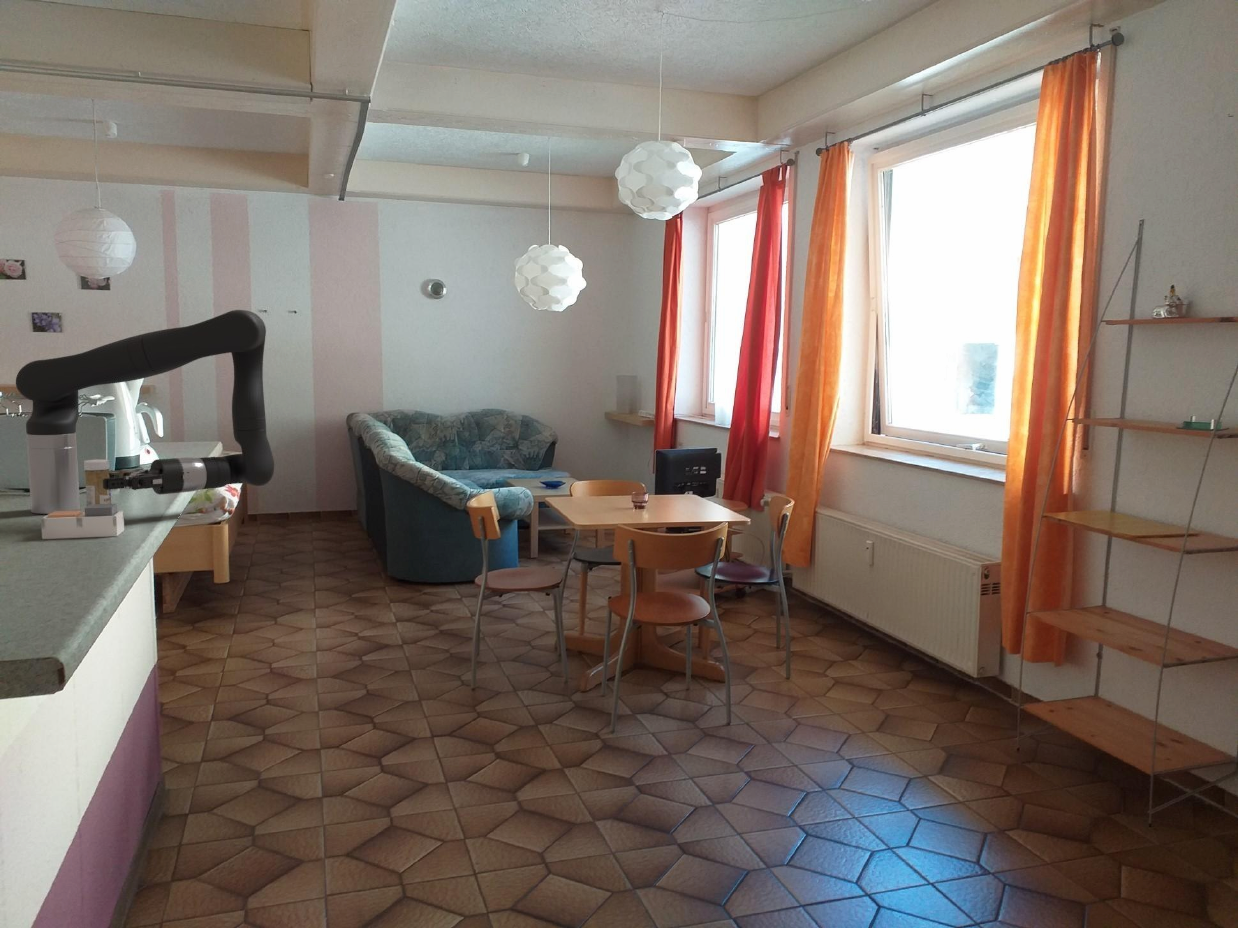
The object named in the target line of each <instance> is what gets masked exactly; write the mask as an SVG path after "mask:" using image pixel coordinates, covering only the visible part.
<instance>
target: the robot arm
mask: <svg viewBox="0 0 1238 928" xmlns="http://www.w3.org/2000/svg"><path fill="white" fill-rule="evenodd" d="M266 334H267V327H266V324H265V322H264V320H263V319H262V318H261V316H259V315H258V314H257V313H255V312H253V311H249V310H244V309H234V310H233V309H232V310H230V311H227V312H224V313H223V314H220V315H217V316H214V317H212V318H210V319H206V320H203V321H201V322H198V323H195V324H192V325H188V326H182V327H174V328H167V329H166V328H165V329H160V330H155V331H150V332H146V333H141V334H139V335H134V336H130V337H127V338H124V339H119V340H116V341H113V342H109V343H107V344H104V345H101V346H98V347H95V348H92V349H90V350H87V351H84V352H80V353H77V354H71V355H67V356H62V357H61V356H60V357H57V358H56V357H54V358H49V359H48V358H47V359H38V360H32V361H30V362H28V363H26V364H25V365H24V366H22V367H21V369H20V370H18V373H17V374H16V377H15V386H16V389H17V391H18V393H20V395H22V396H23V397H24V398H25V399H27V400H30V401H32V410H31V411H32V412H31V414H30V416H29V418H28V419H27V420H26V422H25V429H26V430H25V431H26V447H27V462H28V465H27V466H28V481H29V484H28V485H29V499H30V512H31V513H33V514H40V515H41V514H44V515H45V514H47V515H48V514H50V513H53V512H54V511H80V509H81V508H80V507H81V506H80V487H79V486H80V484H79V482H80V481H79V465H78V448H77V447H78V446H77V433H76V432H77V429H76V428H77V427H76V426H77V422H78V421H79V412H80V411H79V391H80V390H83V389H87V388H90V387H94V386H95V387H96V386H99V385H100V386H101V385H102V386H103V385H109V384H119V383H126V382H131V381H132V382H133V381H136V380H137V381H138V380H141V379H146V378H149V377H154V376H158V375H162V374H164V373H168V372H171V371H173V370H177V369H179V368H181V367H183V366H185V365H188V364H191V363H193V362H194V361H197V360H199V359H203V358H208V357H212V356H217V355H222V354H231V356H232V363H233V377H234V378H233V389H232V399H231V417H232V418H231V419H232V420H231V421H232V431H233V433H232V434H233V438H234V440H235V442H236V443H237V445H239V446H240V449H241V453H235V454H229V455H228V454H227V455H223V456H207V457H205V456H204V457H171V458H159V459H154V460H153V461H152V462H151V465H150V468H149V469H147V468H146V469H144V468H143V467H142V468H141V467H137V468H134V469H131V468H130V469H127V468H126V469H125V468H124V469H121V470H118V469H117V470H112V469H111V470H110V469H109V478H105V479H103V488H104V489H106V490H109V489H110V490H120V489H126V490H133V491H138V490H144V489H146V490H147V489H152V490H153V491H154V493H155V494H156V495H169V494H170V495H171V494H179V493H190V492H196V491H200V490H211V489H219V488H223V487H226V486H227V485H235V484H237V485H238V484H246V485H251V486H256V487H260V486H265V485H267V484H268V483H270V481H271V480H272V478H273V477H274V473H275V460H274V456H273V453H272V449H271V445H270V442H269V439H268V436H267V421H266V420H267V418H266V407H265V396H264V394H265V393H264V380H263V379H264V378H263V377H264V374H263V373H264V372H263V371H264V369H263V367H264V355H265V354H264V351H265V344H266V343H265V342H266ZM116 475H118V476H117V477H116Z"/></svg>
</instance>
